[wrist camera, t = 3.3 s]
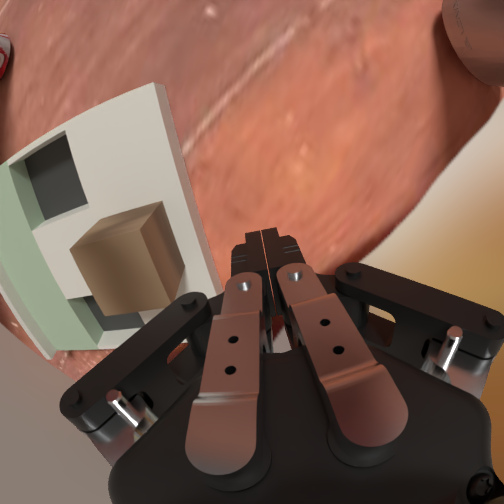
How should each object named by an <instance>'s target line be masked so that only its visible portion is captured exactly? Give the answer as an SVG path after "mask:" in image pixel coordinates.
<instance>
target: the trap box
mask: <svg viewBox="0 0 504 504" xmlns="http://www.w3.org/2000/svg"><path fill="white" fill-rule="evenodd" d="M159 201H163V204H164V207H165V210H166V213H167V216H168V219H169V222H170V225H171V228H172V231H173V234H174V237H175V240H176V242H177V245H178V248H179V251H180V253H181V256H182V259H183V261H184V264H185V268H184V272H183V275H182V278H181V281H180V284H179V288H178V291H177V294H176V298H175V300H176V299H177V298H178V297H180V296H181V295H183V294H186V293H189V292H202V293H204V294H205V295H206V296H207V299H209V298H212V297H214V296H217V295H219V294H221V293H223V292H224V291H223V288H222V285H221V282H220V279H219V276H218V273H217V270H216V267H215V264H214V260H213V257H212V254H211V251H210V248H209V244H208V241H207V238H206V235H205V232H204V228H203V225H202V222H201V218H200V215H199V212H198V208H197V205H196V201H195V198H194V195H193V191H192V188H191V184H190V181H189V177H188V174H187V170H186V166H185V163H184V159H183V156H182V152H181V148H180V144H179V141H178V137H177V133H176V129H175V125H174V122H173V118H172V114H171V110H170V106H169V102H168V98H167V93H166V89H165V85H162V84H158V83H155V82H153V83H150V84H147V85H145V86H142V87H139V88H137V89H134V90H132V91H129V92H127V93H124V94H122V95H120V96H117V97H115V98H113V99H111V100H108V101H106V102H104V103H102V104H100V105H98V106H96V107H93V108H91V109H89V110H87V111H85V112H83V113H82V114H80V115H78V116H76V117H74V118H72V119H70V120H68V121H67V122H65V123H63V124H61V125H60V126H58V127H56V128H55V129H53V130H51V131H50V132H48V133H46V134H45V135H43V136H41V137H40V138H38V139H37V140H35V141H34V142H32V143H31V144H29V145H28V146H26V147H25V148H23V149H22V150H21V151H19V152H18V153H16V154H15V155H14V156H12V157H11V158H9V159H8V160H7V161H5V162H4V163H3V164H2V165H0V293H1V294H2V296H3V298H4V299H5V301H6V303H7V304H8V306H9V308H10V309H11V311H12V312H13V314H14V315H15V317H16V318H17V320H18V321H19V323H20V324H21V326H22V327H23V329H24V330H25V331H26V333H27V334H28V336H29V337H30V338H31V340H32V341H33V342H34V344H35V345H36V346H37V348H38V349H39V350H40V351H41V353H42V354H43V355H44V356H45V358H46V359H52V358H53V356H54V354H55V353H56V351H57V350H96V349H116V348H118V347H119V346H120V345H121V344H122V343H124V342H125V341H126V340H127V339H128V338H130V337H131V336H132V335H133V334H134V333H136V332H137V331H138V330H139V329H140V328H142V327H143V326H144V325H145V324H146V323H148V322H149V321H150V320H151V319H153V318H154V317H155V316H156V315H157V314H159V313H160V312H161V311H162V310H163V309H165V308H162V309H155V310H148V311H141V312H133V313H126V314H118V315H110V316H105V315H104V314H103V312H102V310H101V309H100V307H99V305H98V304H97V302H96V300H95V298H94V297H93V295H92V293H91V291H90V289H89V288H88V286H87V284H86V282H85V280H84V278H83V276H82V274H81V273H80V271H79V269H78V267H77V265H76V263H75V261H74V259H73V256H72V254H71V252H70V250H69V249H70V248H71V247H72V246H73V245H74V244H75V243H76V242H77V241H78V240H79V239H80V238H81V237H82V236H83V235H84V234H85V233H86V232H87V231H88V230H89V229H90V228H91V227H92V226H93V225H94V224H96V223H97V222H98V221H99V220H100V219H102V218H105V217H108V216H111V215H115V214H118V213H121V212H124V211H128V210H131V209H134V208H138V207H141V206H145V205H148V204H152V203H155V202H159ZM186 342H187V340H186V339H185V340H184V341H183V342H182V343H186Z"/></svg>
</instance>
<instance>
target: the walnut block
mask: <svg viewBox="0 0 504 504" xmlns="http://www.w3.org/2000/svg"><path fill="white" fill-rule="evenodd" d="M69 250H70V252H71V254H72V256H73V259H74V261H75V263H76V265H77V267H78V269H79V271H80V273H81V274H82V276H83V278H84V280H85V282H86V284H87V286H88V288H89V289H90V291H91V293H92V295H93V297H94V298H95V300H96V302H97V304H98V305H99V307H100V309H101V310H102V312H103V314H104V315H105V316H110V315H118V314H126V313H133V312H141V311H148V310H155V309H162V308H166V307H167V306H168V305H170V304H171V303H172V302H173V301H174V300H175V298H176V294H177V291H178V288H179V284H180V281H181V278H182V275H183V272H184V268H185V264H184V261H183V259H182V256H181V253H180V251H179V248H178V245H177V242H176V240H175V237H174V234H173V231H172V228H171V225H170V222H169V219H168V216H167V213H166V210H165V207H164V204H163V201H159V202H155V203H152V204H148V205H145V206H141V207H138V208H134V209H131V210H128V211H124V212H121V213H118V214H115V215H111V216H108V217H105V218H102V219H100V220H99V221H98V222H97V223H96V224H94V225H93V226H92V227H91V228H90V229H89V230H88V231H87V232H86V233H85V234H84V235H83V236H82V237H81V238H80V239H79V240H78V241H77V242H76V243H75V244H74V245H73V246H72V247H71V248H70V249H69Z"/></svg>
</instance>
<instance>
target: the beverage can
mask: <svg viewBox="0 0 504 504" xmlns="http://www.w3.org/2000/svg"><path fill="white" fill-rule="evenodd" d="M9 55H10V39H9V37H8V36H7V35H6V34H5V33H0V79H1V77H2V75H3V73H4V71H5V69H6V66H7V63H8V59H9Z"/></svg>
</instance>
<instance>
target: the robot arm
mask: <svg viewBox="0 0 504 504" xmlns="http://www.w3.org/2000/svg"><path fill="white" fill-rule="evenodd" d="M442 17H443V22H444V26H445V29H446V32H447V35H448V38H449V40H450V42H451V44H452V46H453V48H454V50H455V52H456V53H457V55H458V57H459V59H460V60H461V61H462V63H463V64H464V66H465V67H466V68H467V69H468V70H469V71H470V73H471V74H472V75H473V76H474V77H476V78H477V79H478V80H479V81H481V82H483V83H485V84H486V85H491V86H499V87H504V0H443V3H442ZM261 231H262V237H263V242H264V247H265V253H266V258H267V264H268V269H269V274H270V279H271V284H272V289H273V294H274V299H275V305H276V310H277V315H283V319H284V325H285V330H286V333H287V336H288V339H289V343H290V346H291V349H292V350H290V351H287V352H284V353H273V335H272V327H271V326H272V318H271V317H272V316H276V313H275V307H274V302H273V296H272V291H271V285H270V280H269V275H268V269H267V264H266V259H265V254H264V249H263V243H262V238H261V233H260V231H254V232H249V233H245V239H246V243H245V244H240V245H236V246H235V247H234V249H233V250H232V255H231V257H232V258H231V278H230V279H229V280H228V281H227V282H226V285H225V291H224V292H223V293H221V294H219V295H217V296H214V297H212V298H209V299H207V296H206V295H205V294H204V293H202V292H189V293H186V294H183V295H181V296H180V297H178V298H177V299H176V300H174V301H173V302H172V303H171V304H170V305H168V306H167V307H166V308H165V309H163V310H162V311H161V312H160V313H159V314H157V315H156V316H155V317H154V318H153V319H151V320H150V321H149V322H148V323H146V324H145V325H144V326H143V327H142V328H140V329H139V330H138V331H137V332H136V333H134V334H133V335H132V336H131V337H130V338H128V339H127V340H126V341H125V342H124V343H122V344H121V345H120V346H119V347H118V348H116V349H115V350H114V351H113V352H112V353H110V354H109V355H108V356H107V357H106V358H104V359H103V360H102V361H101V362H100V363H98V364H97V365H96V366H95V367H94V368H92V369H91V370H90V371H89V372H88V373H86V374H85V375H84V376H83V377H82V378H81V379H79V380H78V381H77V382H76V383H75V384H73V385H72V386H71V387H70V388H69V389H68V390H67V391H66V392H65V393H64V394H63V396H62V398H61V400H60V411H61V413H62V414H63V415H64V416H65V417H66V418H67V419H68V420H69V421H70V422H71V423H73V424H74V425H75V426H76V427H77V429H79V431H81V432H82V433H83V434H84V435H86V436H87V437H88V438H89V439H90V440H91V441H92V442H93V444H94V445H95V446H96V448H97V449H98V450H99V452H100V453H101V454H102V455H103V456H104V458H105V459H106V460H107V461H108V462H109V464H110V465H111V466H112V467H113V468H112V470H111V472H110V476H109V481H108V490H109V495H110V498H111V501H112V503H113V504H504V484H503V483H502V482H501V481H500V480H499V478H498V477H497V475H496V474H495V472H494V469H493V466H492V459H491V420H490V416H489V413H488V411H487V409H486V408H485V406H484V405H483V403H482V402H481V401H480V397H481V394H482V392H483V389H484V386H485V383H486V379H487V376H488V373H489V370H490V366H491V364H492V362H493V360H494V358H495V357H496V355H497V353H498V352H499V350H500V348H501V346H502V344H503V343H504V316H503V315H502V314H501V313H500V312H498V311H496V310H493V309H491V308H488V307H485V306H483V305H480V304H477V303H474V302H472V301H469V300H466V299H463V298H461V297H458V296H455V295H452V294H449V293H447V292H444V291H441V290H438V289H435V288H433V287H430V286H427V285H424V284H421V283H418V282H415V281H412V280H410V279H407V278H404V277H401V276H397V275H395V274H392V273H389V272H386V271H383V270H380V269H377V268H374V267H371V266H368V265H365V264H362V263H356V262H351V263H345V264H343V265H341V266H339V267H338V268H337V269H336V271H335V275H321V274H317V273H315V272H314V271H313V269H312V268H311V267H310V266H309V265H307V264H306V262H305V260H304V258H303V255H302V253H301V251H300V248H299V246H298V244H297V242H296V239H294V238H293V237H291V236H290V235H287V236H281V237H279V234H278V231H277V228H276V227H275V228H270V229H265V230H261ZM369 305H371V306H374V307H376V308H379V309H381V310H384V311H386V312H388V313H390V314H391V315H392V316H393V317H394V319H395V322H396V323H394V322H392V321H389V320H387V319H384V318H382V317H380V316H377V315H375V314H373V313H370V312H369ZM185 339H186V340H187V342H188V344H189V345H188V346H187V347H186V348H185V349H184V350H183V351H182V352H181V353H180V354H178V355H177V356H176V357H175V358H174V359H173V360H172V361H171V362H170V363H169V364H168V365H167V358H168V356H169V354H170V353H171V352H172V351H173V350H174V349H175V348H176V347H177V346H178V345H179V344H180V343H182V342H183V341H184V340H185Z"/></svg>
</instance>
